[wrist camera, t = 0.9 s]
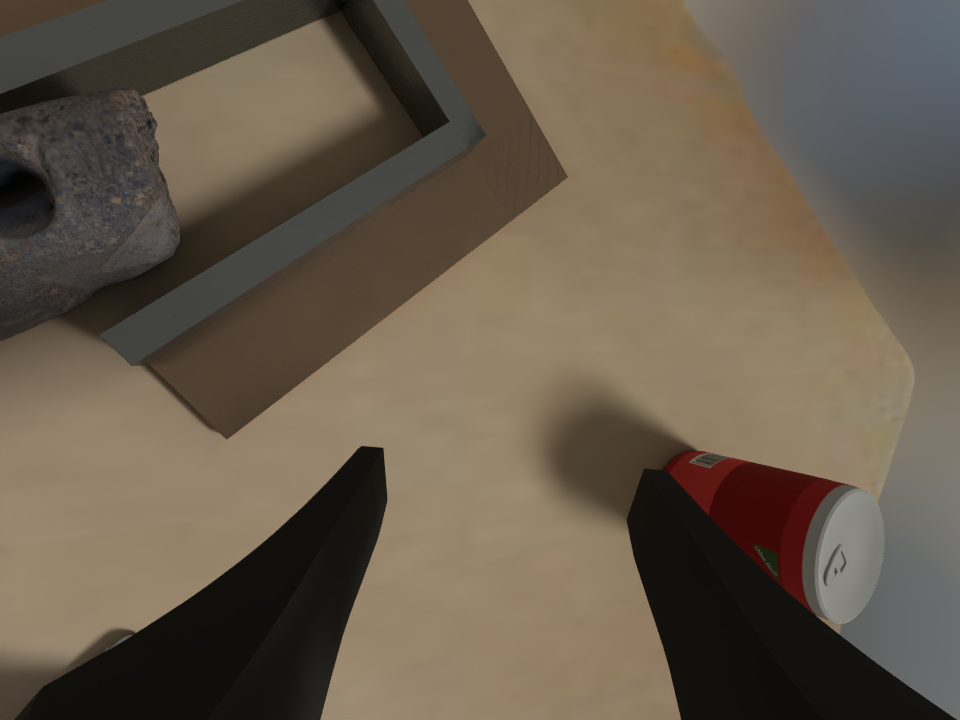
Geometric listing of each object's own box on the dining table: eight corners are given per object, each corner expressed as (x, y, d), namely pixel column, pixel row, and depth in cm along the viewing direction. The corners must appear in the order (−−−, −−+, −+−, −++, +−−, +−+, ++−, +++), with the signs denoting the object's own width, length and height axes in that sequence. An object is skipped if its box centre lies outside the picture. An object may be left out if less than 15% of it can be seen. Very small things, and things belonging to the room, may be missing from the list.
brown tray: (229, 436, 19) (219, 449, 17) (-201, 17, 14) (-319, -64, 11) (560, 181, 28) (590, 162, 25) (371, -147, 22) (383, -218, 19)
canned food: (634, 513, 31) (798, 587, 21) (682, 428, 33) (852, 460, 23) (686, 562, 33) (854, 650, 23) (727, 481, 36) (898, 529, 26)
